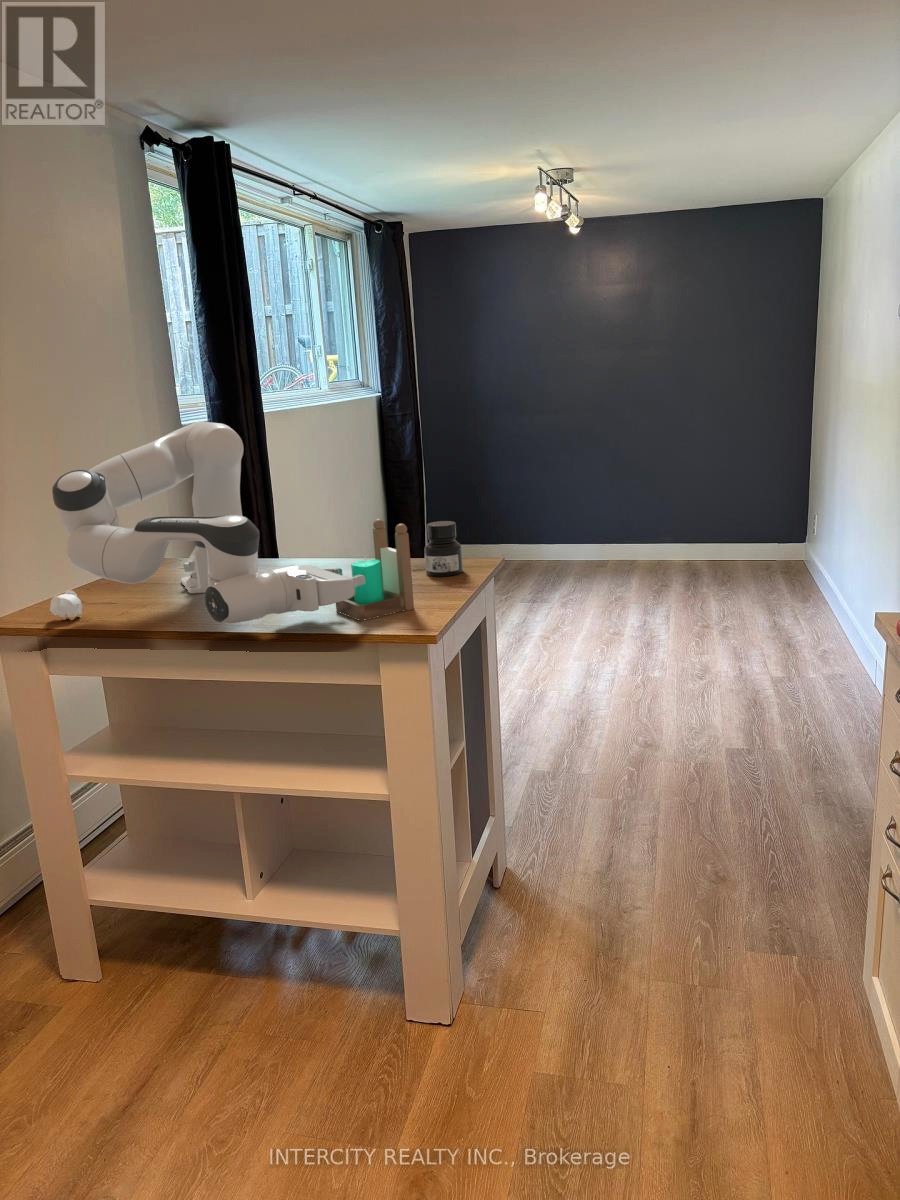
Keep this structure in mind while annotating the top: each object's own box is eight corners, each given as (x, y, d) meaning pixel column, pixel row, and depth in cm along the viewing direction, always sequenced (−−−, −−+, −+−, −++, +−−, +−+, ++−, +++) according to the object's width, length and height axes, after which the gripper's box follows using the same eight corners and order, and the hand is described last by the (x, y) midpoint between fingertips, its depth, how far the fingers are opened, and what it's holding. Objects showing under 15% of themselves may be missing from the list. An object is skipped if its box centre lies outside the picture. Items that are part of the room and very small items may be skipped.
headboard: (377, 601, 203) (370, 519, 198) (387, 599, 204) (380, 517, 200) (405, 611, 194) (398, 525, 189) (415, 608, 195) (408, 523, 190)
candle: (389, 608, 197) (384, 552, 194) (375, 616, 191) (370, 559, 188) (365, 606, 199) (360, 551, 196) (350, 614, 194) (344, 557, 191)
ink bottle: (419, 577, 222) (415, 527, 219) (431, 568, 231) (427, 520, 227) (458, 577, 219) (455, 527, 216) (469, 568, 228) (466, 519, 224)
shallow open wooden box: (336, 611, 197) (335, 597, 196) (379, 601, 203) (378, 588, 202) (361, 621, 189) (359, 606, 188) (405, 610, 194) (404, 596, 193)
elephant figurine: (62, 614, 209) (57, 589, 208) (94, 614, 208) (89, 588, 206) (43, 623, 203) (38, 597, 202) (75, 623, 201) (71, 596, 200)
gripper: (269, 595, 193) (329, 582, 200) (315, 613, 176) (378, 598, 184) (266, 565, 191) (326, 553, 199) (312, 580, 175) (375, 567, 182)
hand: (351, 575), depth 191 cm, fingers open, 8 cm apart
